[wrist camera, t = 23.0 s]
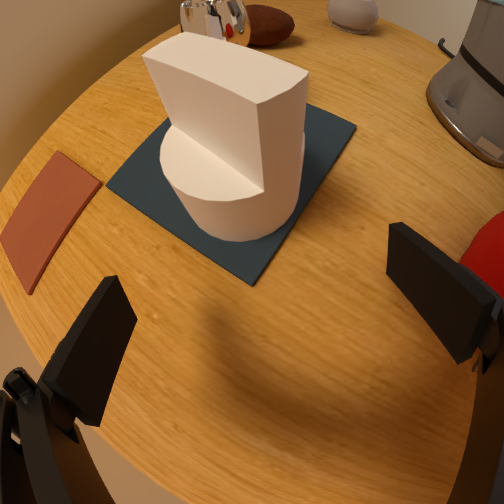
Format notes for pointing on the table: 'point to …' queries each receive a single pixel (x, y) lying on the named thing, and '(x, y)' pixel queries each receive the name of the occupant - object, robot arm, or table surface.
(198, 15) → the wineglass
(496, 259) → the tomato
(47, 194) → the mat
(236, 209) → the base with upright slab
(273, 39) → the potato
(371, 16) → the potion bottle
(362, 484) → the table surface
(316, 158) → the mat
